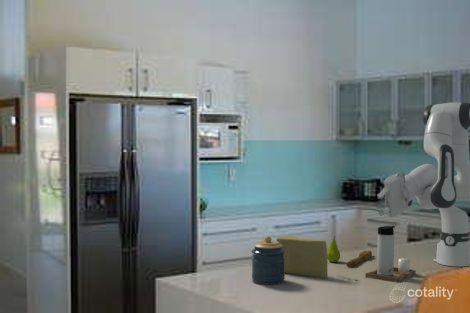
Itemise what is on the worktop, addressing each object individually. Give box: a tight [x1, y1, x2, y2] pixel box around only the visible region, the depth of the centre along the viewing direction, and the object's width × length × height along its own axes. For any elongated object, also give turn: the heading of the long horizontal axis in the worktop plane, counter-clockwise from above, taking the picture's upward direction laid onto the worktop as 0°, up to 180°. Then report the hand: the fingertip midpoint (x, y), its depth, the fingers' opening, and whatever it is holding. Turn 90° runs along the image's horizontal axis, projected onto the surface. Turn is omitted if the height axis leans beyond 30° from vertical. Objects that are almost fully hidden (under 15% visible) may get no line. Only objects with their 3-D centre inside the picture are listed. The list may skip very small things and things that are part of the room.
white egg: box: [397, 257, 411, 275], centre depth 244 cm, size 4×4×6 cm
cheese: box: [275, 234, 328, 279], centre depth 250 cm, size 22×10×15 cm, turn 49°
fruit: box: [327, 235, 341, 263], centre depth 274 cm, size 6×6×12 cm
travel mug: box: [376, 225, 396, 277], centre depth 240 cm, size 6×7×20 cm
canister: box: [251, 235, 286, 285], centre depth 238 cm, size 13×13×18 cm
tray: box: [364, 266, 417, 283], centre depth 242 cm, size 18×13×3 cm
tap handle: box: [346, 250, 373, 269], centre depth 275 cm, size 3×3×30 cm
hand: (379, 205), depth 242 cm, fingers open, 8 cm apart
